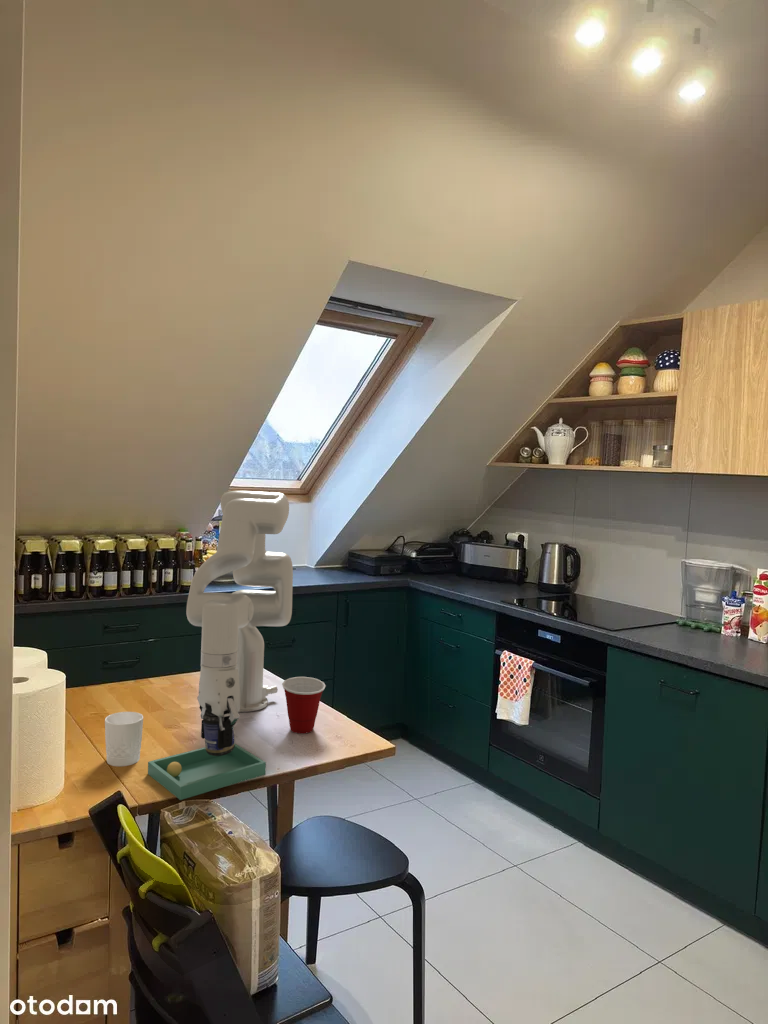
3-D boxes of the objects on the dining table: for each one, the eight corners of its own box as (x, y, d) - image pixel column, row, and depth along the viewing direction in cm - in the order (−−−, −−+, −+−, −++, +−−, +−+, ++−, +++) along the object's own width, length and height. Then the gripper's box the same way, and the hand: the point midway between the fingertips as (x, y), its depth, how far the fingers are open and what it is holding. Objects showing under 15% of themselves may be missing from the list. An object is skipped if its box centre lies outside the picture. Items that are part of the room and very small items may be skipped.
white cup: (110, 754, 163) (110, 711, 162) (146, 755, 164) (147, 711, 163) (99, 769, 155) (100, 724, 154) (137, 770, 156) (138, 724, 155)
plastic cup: (289, 740, 176) (291, 692, 175) (274, 725, 186) (276, 679, 185) (330, 734, 181) (332, 687, 180) (314, 719, 191) (315, 674, 190)
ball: (177, 771, 155) (177, 758, 154) (184, 776, 152) (184, 763, 152) (164, 775, 153) (164, 761, 152) (170, 780, 150) (171, 766, 150)
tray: (229, 754, 166) (230, 740, 166) (265, 776, 156) (265, 762, 155) (147, 776, 153) (148, 761, 153) (180, 802, 142) (180, 786, 142)
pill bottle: (228, 757, 152) (223, 708, 151) (200, 756, 154) (196, 706, 152) (239, 743, 158) (235, 695, 157) (213, 742, 160) (209, 694, 158)
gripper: (256, 665, 150) (253, 750, 151) (214, 647, 163) (211, 726, 164) (224, 671, 145) (221, 759, 146) (183, 652, 158) (181, 733, 159)
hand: (216, 741), depth 155 cm, fingers closed on pill bottle, 6 cm apart
